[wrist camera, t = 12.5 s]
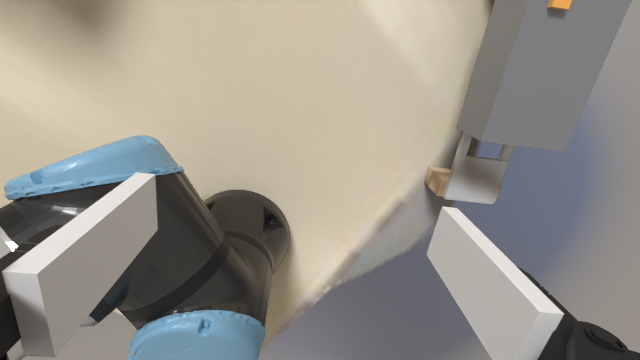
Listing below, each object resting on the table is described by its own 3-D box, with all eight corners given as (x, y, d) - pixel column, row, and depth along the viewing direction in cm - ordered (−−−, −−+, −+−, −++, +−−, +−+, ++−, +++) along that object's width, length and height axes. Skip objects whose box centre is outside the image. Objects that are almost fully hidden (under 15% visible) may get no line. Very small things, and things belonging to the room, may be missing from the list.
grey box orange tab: (502, 127, 45) (568, 153, 33) (438, 118, 44) (484, 143, 33) (547, -1, 39) (647, -22, 27) (475, -14, 38) (546, -40, 27)
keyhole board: (477, 187, 48) (498, 204, 43) (424, 181, 48) (439, 198, 42) (558, -45, 37) (601, -61, 32) (491, -57, 36) (522, -75, 31)
